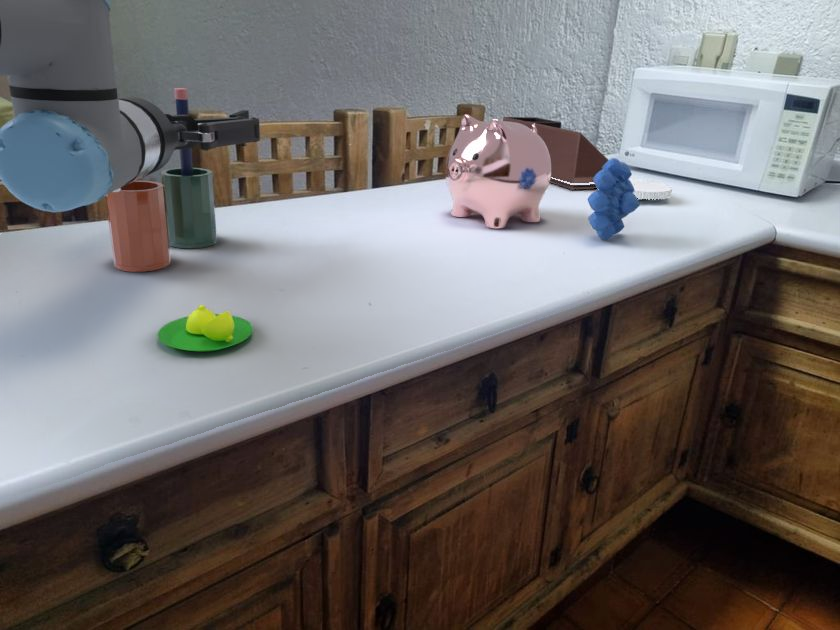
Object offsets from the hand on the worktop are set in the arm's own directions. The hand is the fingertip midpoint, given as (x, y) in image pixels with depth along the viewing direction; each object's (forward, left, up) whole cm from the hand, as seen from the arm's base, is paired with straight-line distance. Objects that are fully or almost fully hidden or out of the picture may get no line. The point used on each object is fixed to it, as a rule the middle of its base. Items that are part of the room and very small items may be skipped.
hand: (191, 118), depth 82 cm
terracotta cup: (0, -13, -15) cm, 20 cm away
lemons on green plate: (+16, -30, -15) cm, 37 cm away
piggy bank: (+38, +25, -15) cm, 47 cm away
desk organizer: (+48, +70, -15) cm, 86 cm away
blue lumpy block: (+56, +18, -15) cm, 60 cm away
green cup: (+1, -3, -15) cm, 15 cm away
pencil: (+1, -3, -15) cm, 15 cm away
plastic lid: (+64, +54, -15) cm, 85 cm away
